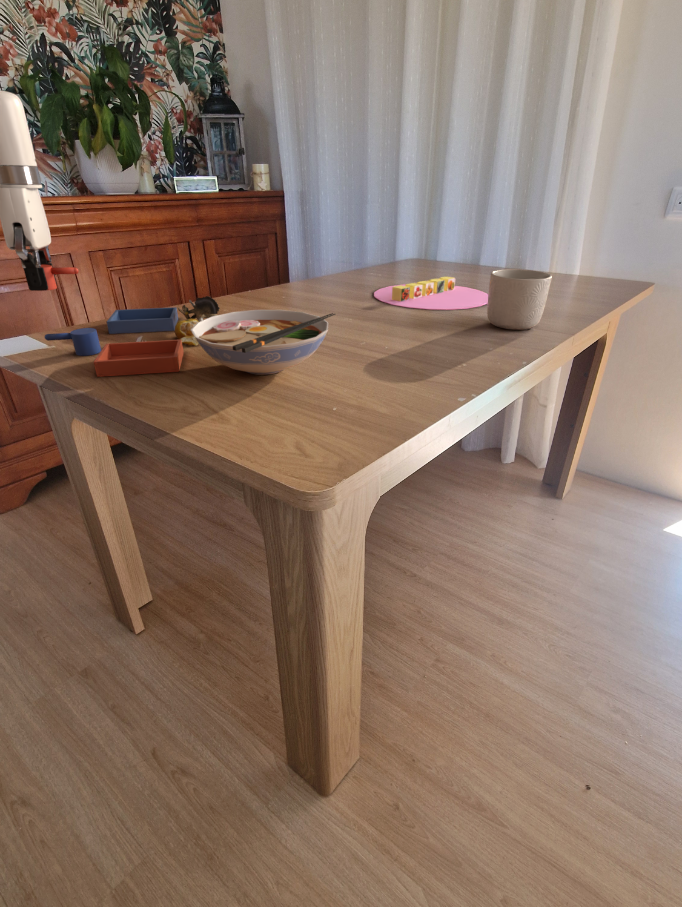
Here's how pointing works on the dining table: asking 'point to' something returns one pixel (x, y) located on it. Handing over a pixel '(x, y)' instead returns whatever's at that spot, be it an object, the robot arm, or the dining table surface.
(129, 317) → the blue tray
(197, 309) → the brown figurine
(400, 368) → the dining table surface
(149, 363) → the red tray
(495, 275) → the planter
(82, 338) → the blue scoop
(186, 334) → the fruit
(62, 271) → the red scoop
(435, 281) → the platter
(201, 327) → the ramen bowl
